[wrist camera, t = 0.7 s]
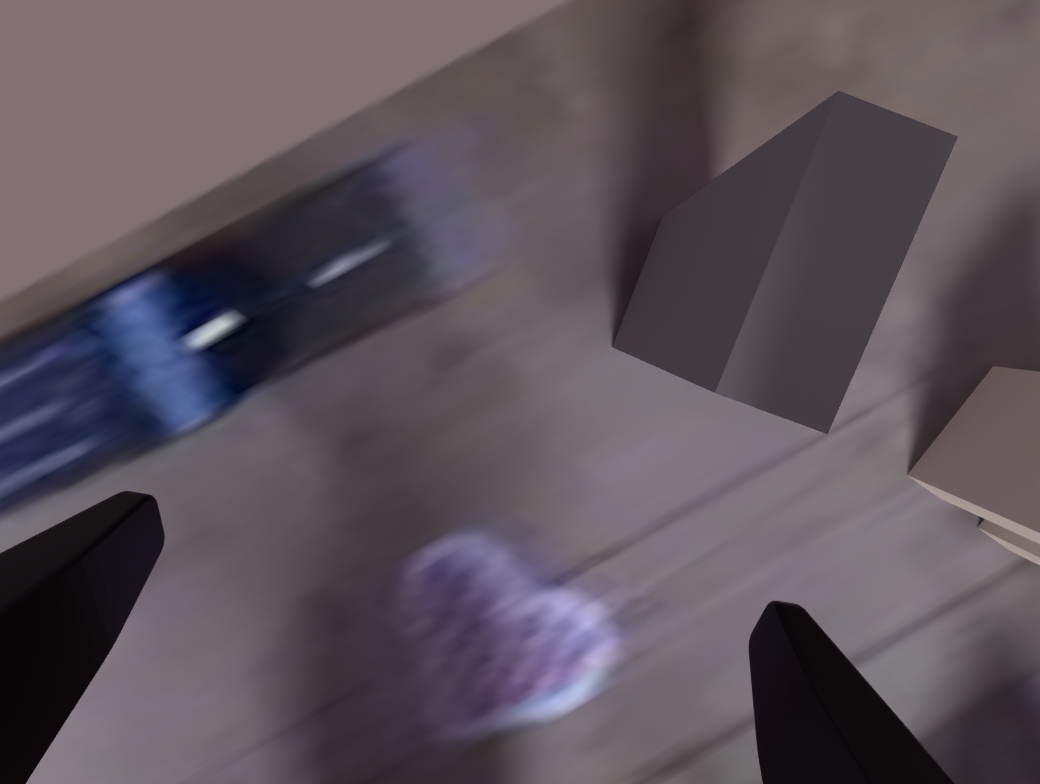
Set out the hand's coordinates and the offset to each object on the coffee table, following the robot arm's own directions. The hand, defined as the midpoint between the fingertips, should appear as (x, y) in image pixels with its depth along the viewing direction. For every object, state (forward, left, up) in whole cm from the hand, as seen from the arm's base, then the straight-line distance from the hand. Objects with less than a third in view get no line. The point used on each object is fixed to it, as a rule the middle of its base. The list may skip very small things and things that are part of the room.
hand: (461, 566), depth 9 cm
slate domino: (+4, -6, -14) cm, 16 cm away
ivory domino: (-3, -17, -15) cm, 23 cm away
